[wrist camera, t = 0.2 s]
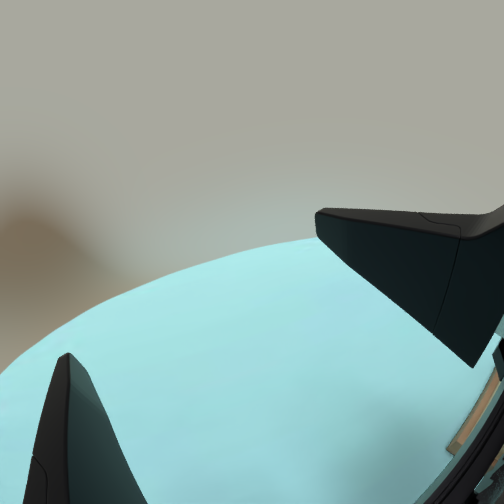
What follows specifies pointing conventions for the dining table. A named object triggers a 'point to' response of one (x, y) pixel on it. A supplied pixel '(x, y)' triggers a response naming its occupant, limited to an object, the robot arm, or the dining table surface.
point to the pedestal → (477, 417)
